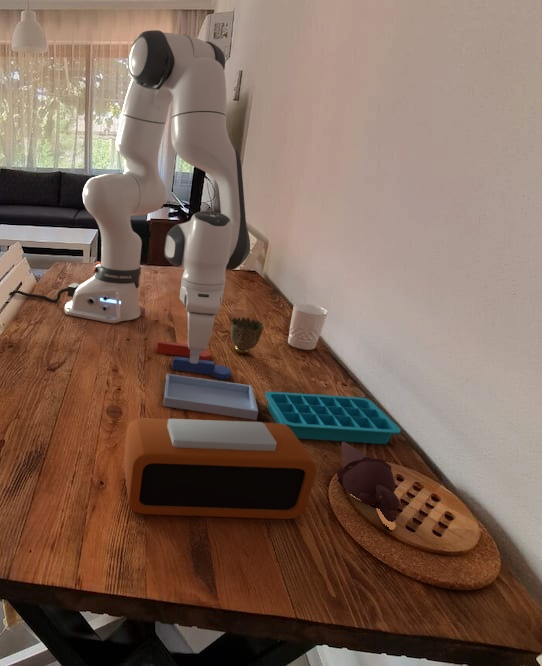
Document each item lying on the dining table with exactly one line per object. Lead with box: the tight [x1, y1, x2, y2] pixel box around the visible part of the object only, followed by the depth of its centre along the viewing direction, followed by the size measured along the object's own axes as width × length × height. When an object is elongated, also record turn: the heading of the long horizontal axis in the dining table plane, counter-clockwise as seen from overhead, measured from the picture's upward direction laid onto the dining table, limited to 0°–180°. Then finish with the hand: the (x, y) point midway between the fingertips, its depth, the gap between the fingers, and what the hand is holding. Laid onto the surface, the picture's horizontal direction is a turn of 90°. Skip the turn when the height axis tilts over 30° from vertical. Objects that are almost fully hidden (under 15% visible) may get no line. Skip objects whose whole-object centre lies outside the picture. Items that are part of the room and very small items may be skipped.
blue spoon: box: [171, 355, 232, 380], centre depth 101 cm, size 13×4×3 cm, turn 78°
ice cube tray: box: [264, 391, 402, 445], centre depth 84 cm, size 12×20×3 cm, turn 87°
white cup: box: [287, 303, 329, 351], centre depth 117 cm, size 8×8×10 cm
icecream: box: [336, 441, 401, 532], centre depth 66 cm, size 7×7×15 cm
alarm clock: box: [123, 417, 318, 520], centre depth 63 cm, size 24×8×11 cm, turn 90°
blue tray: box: [162, 373, 259, 421], centre depth 90 cm, size 17×10×2 cm, turn 78°
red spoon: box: [156, 340, 212, 361], centre depth 109 cm, size 13×4×3 cm, turn 78°
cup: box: [230, 317, 265, 355], centre depth 111 cm, size 8×7×8 cm
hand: (193, 353), depth 100 cm, fingers open, 8 cm apart
